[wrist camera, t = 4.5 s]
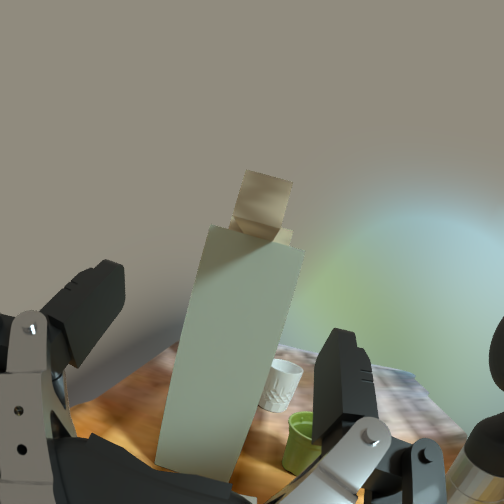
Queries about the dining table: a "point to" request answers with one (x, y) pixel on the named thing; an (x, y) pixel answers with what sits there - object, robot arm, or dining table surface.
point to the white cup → (280, 385)
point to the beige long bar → (262, 207)
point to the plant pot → (300, 443)
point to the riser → (225, 351)
